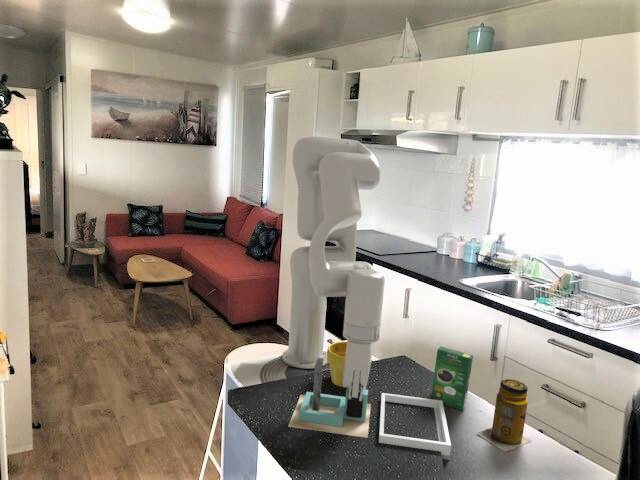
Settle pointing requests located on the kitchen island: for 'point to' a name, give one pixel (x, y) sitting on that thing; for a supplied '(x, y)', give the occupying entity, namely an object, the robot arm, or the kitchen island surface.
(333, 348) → the plant pot
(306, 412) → the teal frame with handle
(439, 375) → the coffee box
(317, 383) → the stake
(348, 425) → the board
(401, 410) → the kitchen island surface
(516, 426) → the condiment
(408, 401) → the white rectangular frame
